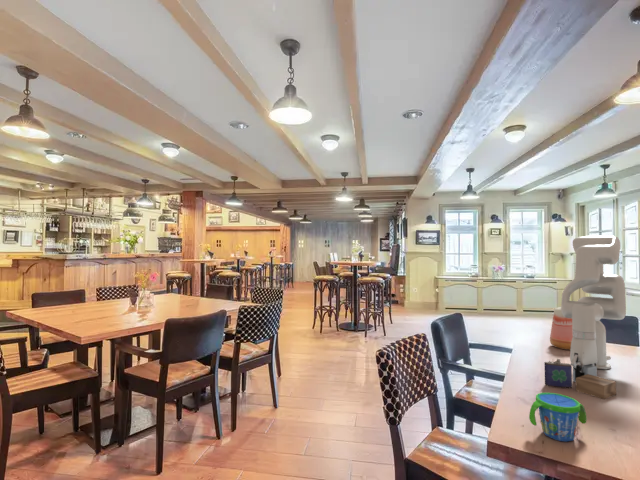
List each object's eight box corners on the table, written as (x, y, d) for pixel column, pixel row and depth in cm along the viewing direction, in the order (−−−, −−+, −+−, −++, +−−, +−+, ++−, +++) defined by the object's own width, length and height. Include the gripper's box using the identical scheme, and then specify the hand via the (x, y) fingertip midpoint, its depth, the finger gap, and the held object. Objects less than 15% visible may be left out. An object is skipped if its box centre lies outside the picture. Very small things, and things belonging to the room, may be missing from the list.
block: (588, 387, 139) (587, 374, 139) (616, 395, 131) (615, 381, 131) (576, 391, 134) (575, 377, 135) (604, 400, 127) (604, 385, 127)
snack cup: (540, 445, 96) (540, 406, 96) (520, 426, 106) (519, 391, 107) (600, 446, 95) (599, 408, 96) (573, 427, 106) (573, 392, 106)
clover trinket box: (570, 386, 139) (570, 358, 139) (573, 389, 136) (573, 360, 136) (543, 384, 141) (543, 356, 141) (546, 386, 138) (545, 358, 139)
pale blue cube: (582, 379, 146) (581, 362, 147) (597, 384, 141) (596, 366, 141) (573, 381, 144) (572, 363, 144) (588, 386, 139) (587, 368, 139)
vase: (588, 351, 188) (587, 295, 190) (561, 351, 189) (560, 295, 190) (569, 344, 203) (568, 292, 204) (544, 344, 203) (543, 292, 204)
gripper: (587, 331, 150) (588, 375, 149) (560, 335, 144) (561, 380, 143) (607, 335, 143) (608, 381, 143) (580, 339, 137) (581, 387, 136)
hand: (584, 380), depth 143 cm, fingers closed on pale blue cube, 5 cm apart
